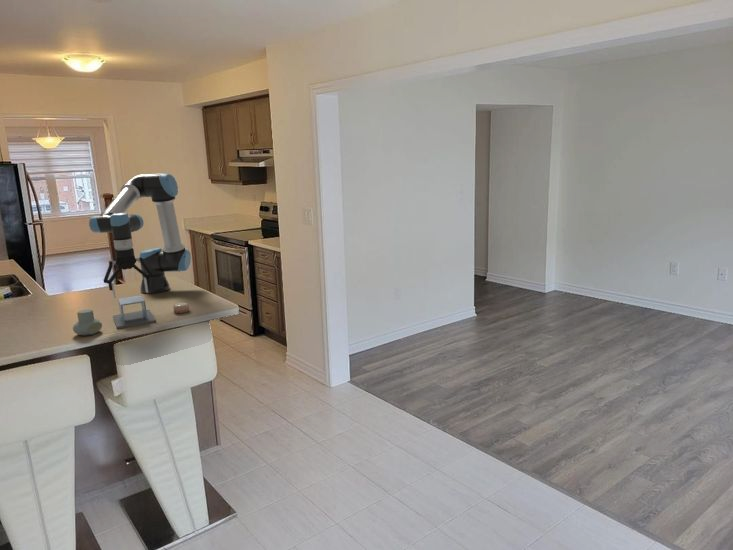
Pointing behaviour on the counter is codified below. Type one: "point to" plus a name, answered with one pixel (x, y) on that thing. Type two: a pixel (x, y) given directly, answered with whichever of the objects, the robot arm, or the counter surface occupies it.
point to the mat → (133, 319)
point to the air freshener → (86, 323)
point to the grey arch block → (132, 301)
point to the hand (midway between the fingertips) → (131, 294)
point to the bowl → (181, 307)
